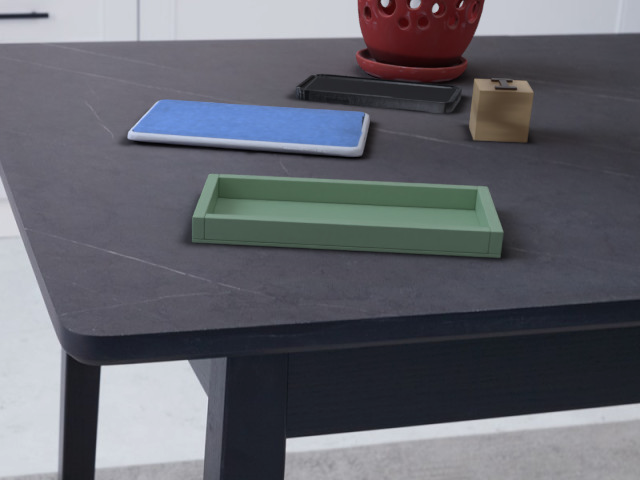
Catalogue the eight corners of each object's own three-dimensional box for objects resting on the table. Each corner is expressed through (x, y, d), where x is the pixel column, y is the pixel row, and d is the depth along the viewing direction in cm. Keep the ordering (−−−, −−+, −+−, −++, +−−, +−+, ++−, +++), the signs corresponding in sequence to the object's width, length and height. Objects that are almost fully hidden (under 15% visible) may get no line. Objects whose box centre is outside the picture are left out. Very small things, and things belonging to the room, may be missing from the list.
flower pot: (403, 95, 113) (414, -34, 108) (327, 69, 123) (334, -50, 118) (503, 82, 119) (519, -40, 114) (423, 59, 129) (434, -55, 124)
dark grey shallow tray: (314, 73, 116) (463, 85, 112) (313, 84, 116) (462, 97, 112) (292, 89, 109) (451, 103, 105) (292, 101, 110) (450, 115, 106)
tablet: (370, 124, 103) (371, 109, 102) (361, 163, 92) (362, 146, 91) (158, 112, 105) (157, 97, 105) (124, 148, 94) (124, 132, 94)
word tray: (484, 213, 81) (487, 186, 80) (499, 262, 73) (504, 231, 72) (208, 200, 83) (208, 173, 82) (191, 246, 74) (191, 216, 73)
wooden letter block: (519, 132, 102) (527, 78, 99) (526, 145, 98) (534, 89, 95) (468, 130, 102) (474, 76, 100) (473, 143, 98) (479, 87, 96)
